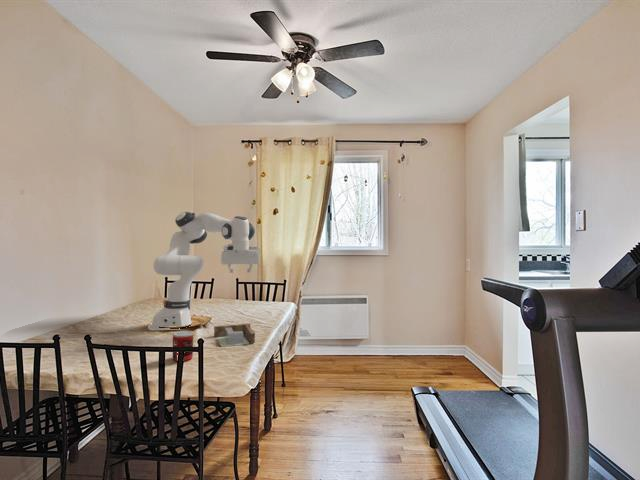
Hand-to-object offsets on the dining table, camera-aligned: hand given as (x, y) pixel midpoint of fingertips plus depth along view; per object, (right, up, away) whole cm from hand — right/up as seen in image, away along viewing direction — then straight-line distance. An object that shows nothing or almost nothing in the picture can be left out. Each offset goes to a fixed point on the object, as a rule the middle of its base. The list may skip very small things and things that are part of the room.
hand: (240, 272), depth 195 cm
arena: (+1, -32, -16) cm, 36 cm away
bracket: (+1, -31, -18) cm, 36 cm away
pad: (0, -32, -18) cm, 37 cm away
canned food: (-14, -32, -44) cm, 56 cm away
